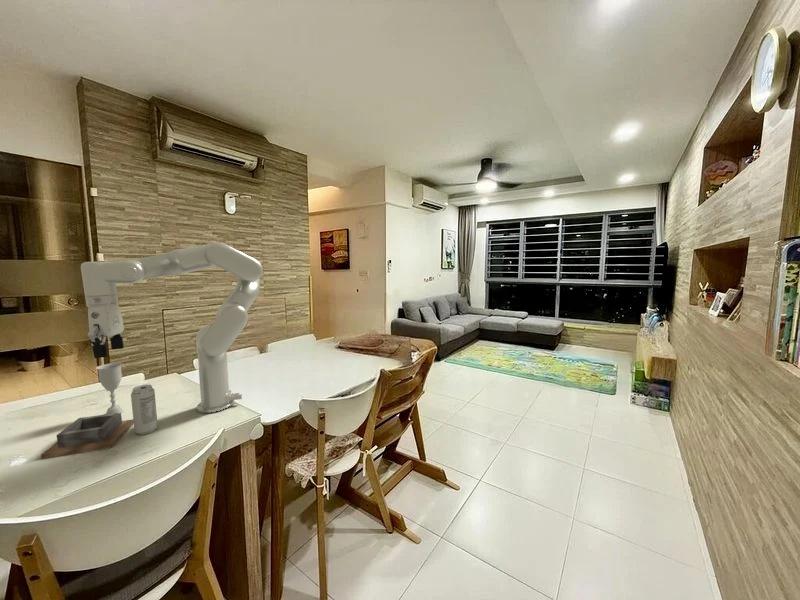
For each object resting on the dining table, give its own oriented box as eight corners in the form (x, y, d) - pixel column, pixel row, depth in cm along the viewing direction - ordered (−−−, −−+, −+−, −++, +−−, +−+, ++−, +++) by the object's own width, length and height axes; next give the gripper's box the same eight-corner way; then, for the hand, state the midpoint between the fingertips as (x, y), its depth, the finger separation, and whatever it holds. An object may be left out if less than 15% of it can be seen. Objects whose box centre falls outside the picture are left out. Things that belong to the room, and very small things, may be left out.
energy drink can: (150, 424, 109) (146, 382, 107) (162, 428, 107) (158, 385, 105) (130, 433, 103) (125, 389, 102) (142, 437, 101) (137, 392, 100)
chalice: (111, 418, 113) (105, 369, 111) (96, 416, 115) (90, 368, 112) (132, 409, 120) (127, 363, 118) (117, 407, 122) (112, 362, 120)
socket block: (134, 422, 111) (133, 408, 110) (111, 447, 96) (110, 431, 95) (75, 430, 105) (73, 415, 104) (41, 458, 90) (38, 441, 90)
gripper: (101, 303, 94) (109, 359, 96) (130, 296, 110) (136, 344, 113) (69, 305, 92) (78, 362, 94) (103, 298, 108) (110, 347, 110)
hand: (109, 352), depth 103 cm, fingers open, 9 cm apart
